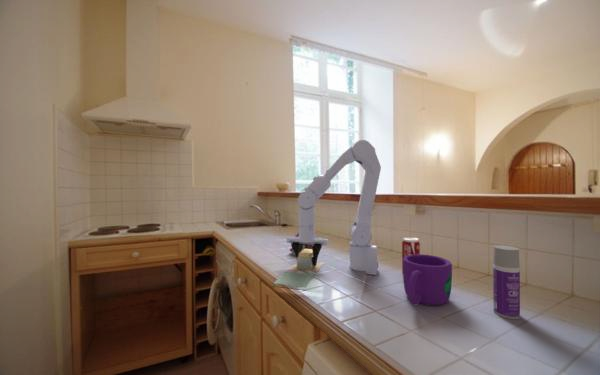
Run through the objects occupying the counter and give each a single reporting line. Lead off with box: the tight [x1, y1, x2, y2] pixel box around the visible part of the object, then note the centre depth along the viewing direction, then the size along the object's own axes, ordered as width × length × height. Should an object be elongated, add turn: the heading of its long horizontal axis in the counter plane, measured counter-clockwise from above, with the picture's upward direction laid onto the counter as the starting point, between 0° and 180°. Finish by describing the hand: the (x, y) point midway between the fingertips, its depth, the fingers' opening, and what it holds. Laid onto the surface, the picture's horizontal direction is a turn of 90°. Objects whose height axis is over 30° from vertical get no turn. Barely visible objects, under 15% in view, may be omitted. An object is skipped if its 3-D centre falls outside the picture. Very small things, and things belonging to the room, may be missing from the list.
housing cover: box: [298, 249, 313, 258], centre depth 90 cm, size 4×7×1 cm, turn 162°
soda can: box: [401, 237, 421, 275], centre depth 82 cm, size 5×5×12 cm
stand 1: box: [289, 262, 325, 273], centre depth 90 cm, size 10×10×1 cm
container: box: [492, 244, 521, 320], centre depth 58 cm, size 5×5×15 cm
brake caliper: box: [289, 232, 314, 257], centre depth 108 cm, size 11×11×12 cm
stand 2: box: [273, 271, 316, 291], centre depth 78 cm, size 10×10×1 cm
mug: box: [402, 253, 453, 306], centre depth 64 cm, size 17×11×10 cm, turn 138°
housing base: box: [296, 255, 314, 270], centre depth 90 cm, size 5×8×4 cm, turn 162°
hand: (307, 264), depth 90 cm, fingers closed on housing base, 5 cm apart
